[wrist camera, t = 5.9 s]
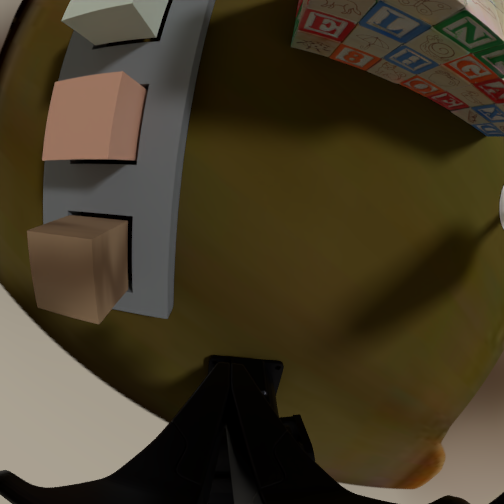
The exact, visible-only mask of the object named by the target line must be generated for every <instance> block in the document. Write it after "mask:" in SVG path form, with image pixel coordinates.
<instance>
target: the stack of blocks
mask: <svg viewBox="0 0 504 504" xmlns="http://www.w3.org/2000/svg"><path fill="white" fill-rule="evenodd" d="M291 47H292V48H297V49H301V50H305V51H308V52H312V53H316V54H319V55H323V56H326V57H329V58H330V59H333V60H336V61H339V62H342V63H345V64H348V65H351V66H354V67H356V68H359V69H362V70H365V71H367V72H369V73H372V74H374V75H376V76H379V77H381V78H384V79H386V80H388V81H391V82H393V83H395V84H400V85H402V86H404V87H407V88H409V89H411V90H412V91H414V92H417V93H418V94H420V95H422V96H424V97H427V98H429V99H431V100H433V101H434V102H436V103H438V104H440V105H441V106H443V107H445V108H446V109H448V110H450V111H451V113H453V114H455V115H456V116H458V117H459V118H461V119H462V120H464V121H465V122H467V123H468V124H471V125H472V126H473V127H474V128H476V129H477V130H479V131H480V132H482V133H483V134H484V135H486V136H504V0H299V1H298V6H297V12H296V21H295V26H294V31H293V36H292V42H291Z"/></svg>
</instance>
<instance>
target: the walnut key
mask: <svg viewBox="0 0 504 504" xmlns="http://www.w3.org/2000/svg"><path fill="white" fill-rule="evenodd" d="M27 236H28V248H29V258H30V266H31V273H32V280H33V286H34V292H35V297H36V302H37V307H38V308H41V309H44V310H48V311H51V312H54V313H58V314H61V315H65V316H68V317H72V318H76V319H79V320H83V321H87V322H91V323H95V324H100V323H101V321H102V320H103V319H104V318H105V317H106V315H107V314H108V313H109V312H110V310H111V309H112V308H113V307H114V306H115V304H116V303H117V302H118V301H119V300H120V298H121V297H122V296H123V295H124V294H125V293H126V291H127V290H128V221H126V220H116V219H106V218H96V217H86V216H75V215H69V216H66V217H63V218H60V219H57V220H54V221H52V222H49V223H46V224H43V225H41V226H38V227H36V228H33V229H30V230H28V231H27Z"/></svg>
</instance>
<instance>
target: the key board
mask: <svg viewBox="0 0 504 504" xmlns="http://www.w3.org/2000/svg"><path fill="white" fill-rule="evenodd" d="M214 3H215V0H173V1H172V4H171V7H170V10H169V13H168V16H167V19H166V22H165V25H164V29H163V32H162V35H161V39H160V41H157V42H144V43H133V44H125V45H117V46H111V47H106V46H107V43H106V44H101V45H94V44H93V43H91V42H90V41H89V40H87V39H86V38H85V37H83V36H82V35H81V34H79V33H78V32H76V31H75V30H74V32H73V34H72V37H71V40H70V43H69V46H68V49H67V52H66V55H65V58H64V61H63V65H62V68H61V72H60V76H59V79H58V81H62V80H67V79H72V78H77V77H83V76H89V75H95V74H102V73H111V72H120V71H123V72H125V73H126V74H127V75H129V76H130V77H131V78H132V79H134V80H135V81H136V82H138V83H139V84H140V85H141V86H143V87H144V88H145V89H146V90H148V93H147V98H146V103H145V109H144V115H143V121H142V127H141V134H140V141H139V149H138V157H137V165H130V164H83V163H84V160H45V166H44V184H43V224H46V223H49V222H52V221H54V220H57V219H60V218H63V217H66V216H69V215H75V216H81V212H91V213H102V214H113V215H124V216H133V223H132V281H130V280H128V290H127V291H126V293H125V294H124V295H123V296H122V297H121V298H120V300H119V301H118V302H117V303H116V304H115V306H114V307H113V308H112V309H115V310H120V311H125V312H131V313H136V314H141V315H147V316H153V317H159V318H165V319H168V317H169V315H170V312H171V310H172V308H173V294H174V265H175V246H176V231H177V218H178V206H179V195H180V185H181V176H182V168H183V159H184V152H185V144H186V137H187V130H188V124H189V118H190V111H191V106H192V100H193V94H194V89H195V84H196V78H197V73H198V69H199V64H200V59H201V55H202V50H203V46H204V41H205V37H206V33H207V29H208V25H209V21H210V18H211V14H212V10H213V7H214Z"/></svg>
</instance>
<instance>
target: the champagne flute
mask: <svg viewBox="0 0 504 504" xmlns="http://www.w3.org/2000/svg"><path fill="white" fill-rule="evenodd" d="M499 209H500V220H501V224H502V227H503V229H504V186H503V189H502V192H501V197H500V208H499Z"/></svg>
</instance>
